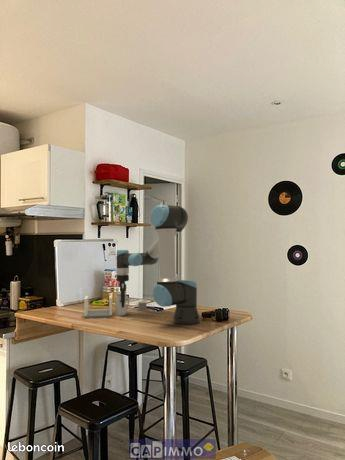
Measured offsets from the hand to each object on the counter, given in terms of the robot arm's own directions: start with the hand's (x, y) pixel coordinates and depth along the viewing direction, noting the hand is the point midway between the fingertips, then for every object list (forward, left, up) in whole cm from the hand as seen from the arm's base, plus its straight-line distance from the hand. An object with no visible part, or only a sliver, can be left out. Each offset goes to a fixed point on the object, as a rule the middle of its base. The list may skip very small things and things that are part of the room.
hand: (122, 311), depth 222 cm
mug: (0, 0, -2) cm, 2 cm away
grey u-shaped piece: (-2, +14, -2) cm, 15 cm away
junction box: (+13, -13, -2) cm, 19 cm away
